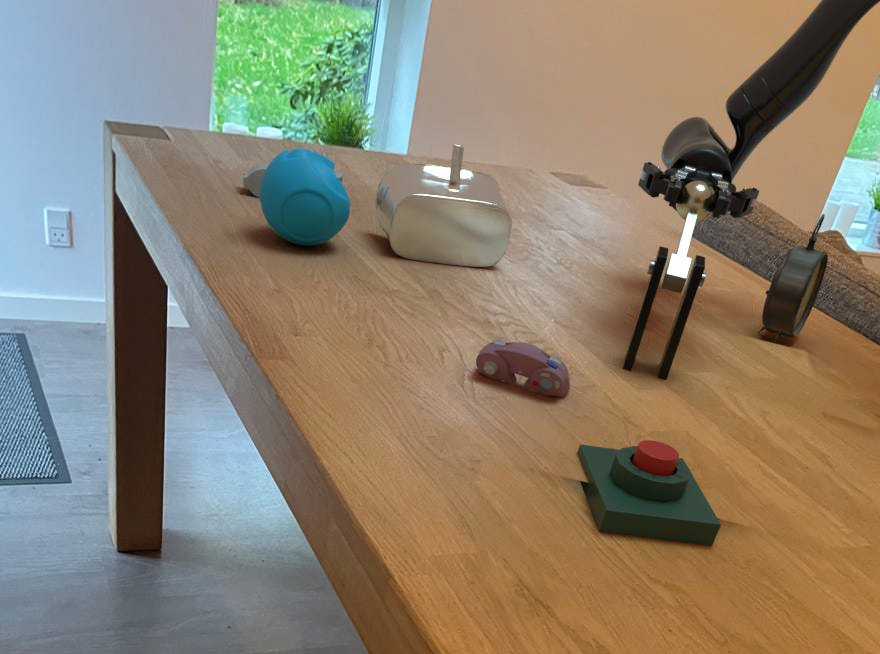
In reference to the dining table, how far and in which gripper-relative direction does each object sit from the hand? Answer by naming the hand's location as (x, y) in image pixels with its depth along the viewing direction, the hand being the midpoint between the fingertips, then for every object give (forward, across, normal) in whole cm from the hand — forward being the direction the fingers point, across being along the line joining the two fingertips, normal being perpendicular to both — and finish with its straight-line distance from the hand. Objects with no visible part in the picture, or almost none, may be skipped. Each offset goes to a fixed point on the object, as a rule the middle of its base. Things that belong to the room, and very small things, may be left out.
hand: (697, 202), depth 106 cm
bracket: (+5, 0, +18) cm, 19 cm away
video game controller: (+19, -12, +19) cm, 29 cm away
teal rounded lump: (-14, -48, +19) cm, 53 cm away
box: (+36, +2, +19) cm, 41 cm away
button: (+36, +2, +16) cm, 39 cm away
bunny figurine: (-34, -56, +18) cm, 68 cm away
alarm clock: (-24, +17, +18) cm, 34 cm away
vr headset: (-25, -31, +18) cm, 44 cm away
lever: (-1, 0, +5) cm, 5 cm away
